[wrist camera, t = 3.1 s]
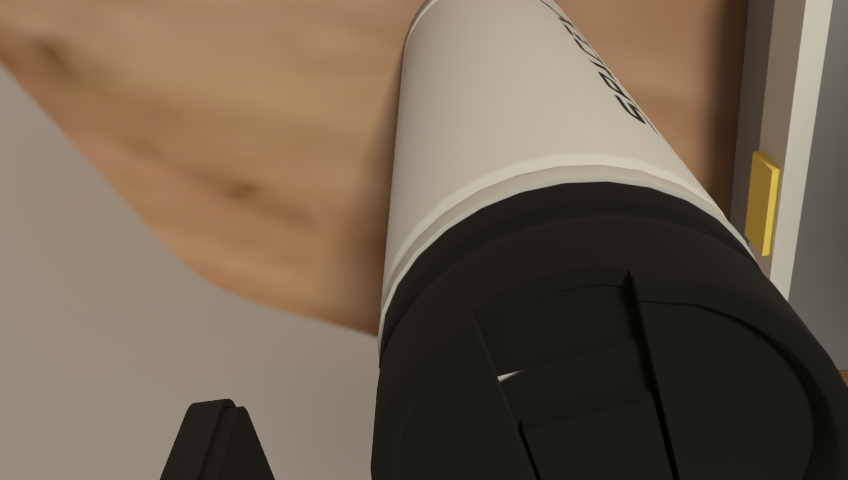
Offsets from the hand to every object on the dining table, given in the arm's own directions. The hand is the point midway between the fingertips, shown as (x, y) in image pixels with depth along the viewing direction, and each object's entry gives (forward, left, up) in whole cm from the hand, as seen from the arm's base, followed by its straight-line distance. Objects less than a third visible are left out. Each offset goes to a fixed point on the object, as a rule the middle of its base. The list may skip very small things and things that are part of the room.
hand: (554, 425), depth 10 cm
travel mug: (0, +1, -18) cm, 18 cm away
